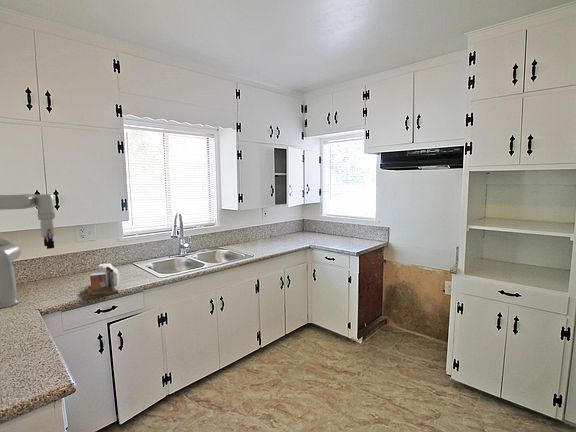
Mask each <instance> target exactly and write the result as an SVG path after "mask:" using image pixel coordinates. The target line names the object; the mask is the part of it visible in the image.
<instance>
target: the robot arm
mask: <svg viewBox="0 0 576 432" xmlns="http://www.w3.org/2000/svg"><path fill="white" fill-rule="evenodd" d="M32 208H36V209H37V219H38V221H40V236H41V237H42V238H43V244H44V247H46V249H47V250H48V249H50V250H51V249H54V248H55V241H54V236H55V231H54V220H55V219H56V213H55V212H56V211H55V202H54V195H53V194H52V193H51V194H50V193H49V194H47V193H46V194H45V193H44V194H43V193H41V194H34V193H25V194H0V211H1V210H24V209H26V210H27V209H32ZM21 252H22V251H21V249H20V247H19V246H18V245H17V244H14V243H13V242H11V241H9V240H7V239H6V238H3V237H2V236H0V309H1V308H2V309H3V308H7V307H12V306H15V305H17V304H20V303H21V302H22V298H21V297H18V293H17V283H16V282H17V281H16V273H15V267H14V265H13V263H12V262H13V261H15V260H17V259H19V258H20V256H21Z"/></svg>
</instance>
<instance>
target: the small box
mask: <svg viewBox="0 0 576 432" xmlns="http://www.w3.org/2000/svg"><path fill="white" fill-rule="evenodd" d="M89 275H90V276H89V279H90V286H91V290H97V289H102V288H106V287H107V281H106V272H102V273H99V272H95V273H90V274H89Z"/></svg>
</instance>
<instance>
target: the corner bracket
mask: <svg viewBox="0 0 576 432" xmlns="http://www.w3.org/2000/svg"><path fill="white" fill-rule="evenodd" d="M106 267H110V268H111V269H113V276H114V286H117V285H119V283H120V271H119V270H118V269H117V268H116V267H114V266H113V265H112V263H101V264H99V265H98V273H102V272H106ZM106 281H107V272H106Z"/></svg>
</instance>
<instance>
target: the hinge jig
mask: <svg viewBox="0 0 576 432" xmlns="http://www.w3.org/2000/svg"><path fill="white" fill-rule="evenodd" d="M106 272H107V287H106V288H102V289H97V290H91V285H88V286H84V290H80V291H79V295H80V296H81V297H82V299H83V300H84V301H89V300H93V299H94V300H95V299H97V298H98V299H99V298H102V297H106V296H107V297H108V296H111V295H115V294H119V290H118V289H117V288H115V285H114V276H113V269H111V268H110V267H106Z"/></svg>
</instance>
